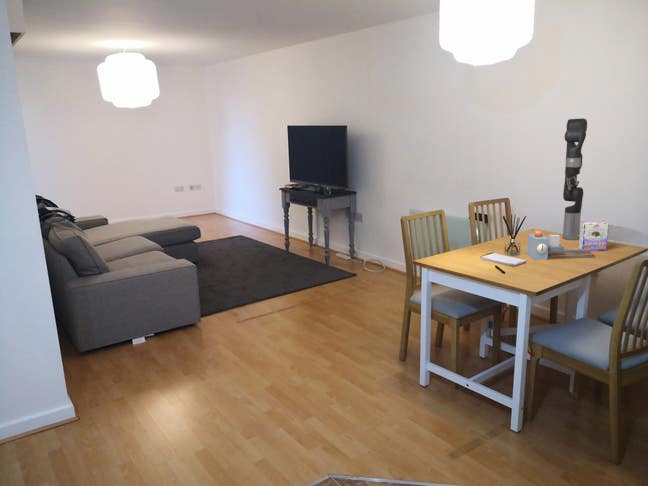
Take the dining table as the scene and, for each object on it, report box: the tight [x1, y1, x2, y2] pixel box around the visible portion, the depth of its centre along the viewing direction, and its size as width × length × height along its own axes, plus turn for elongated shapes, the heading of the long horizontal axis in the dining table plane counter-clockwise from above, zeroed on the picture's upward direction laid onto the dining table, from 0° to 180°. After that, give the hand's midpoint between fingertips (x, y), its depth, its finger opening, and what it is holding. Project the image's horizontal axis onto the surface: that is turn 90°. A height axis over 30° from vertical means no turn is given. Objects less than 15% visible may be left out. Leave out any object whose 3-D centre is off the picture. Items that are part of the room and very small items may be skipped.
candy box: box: [578, 220, 610, 252], centre depth 292 cm, size 14×6×16 cm, turn 84°
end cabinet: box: [526, 233, 549, 261], centre depth 282 cm, size 13×7×12 cm, turn 179°
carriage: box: [548, 234, 565, 252], centre depth 281 cm, size 8×8×8 cm
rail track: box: [547, 248, 596, 260], centre depth 283 cm, size 10×26×4 cm, turn 89°
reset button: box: [534, 229, 543, 237], centre depth 280 cm, size 4×4×3 cm
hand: (570, 196), depth 285 cm, fingers closed
